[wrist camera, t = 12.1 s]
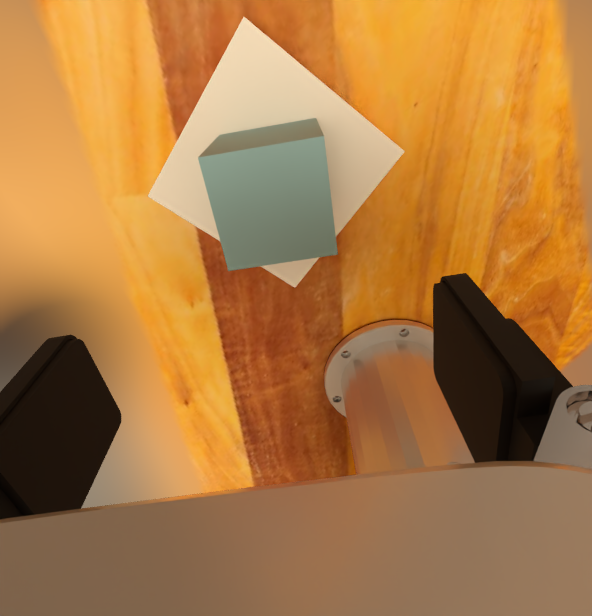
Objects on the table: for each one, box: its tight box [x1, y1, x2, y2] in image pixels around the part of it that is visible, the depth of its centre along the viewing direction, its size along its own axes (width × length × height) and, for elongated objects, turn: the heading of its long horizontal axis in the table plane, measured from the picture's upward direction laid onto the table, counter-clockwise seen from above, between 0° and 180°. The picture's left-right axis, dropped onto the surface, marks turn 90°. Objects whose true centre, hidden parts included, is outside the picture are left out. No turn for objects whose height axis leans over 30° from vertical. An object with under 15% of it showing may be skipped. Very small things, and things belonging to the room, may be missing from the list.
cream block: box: [148, 17, 405, 288], centre depth 28 cm, size 12×12×4 cm
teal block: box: [198, 118, 338, 271], centre depth 24 cm, size 6×6×7 cm
